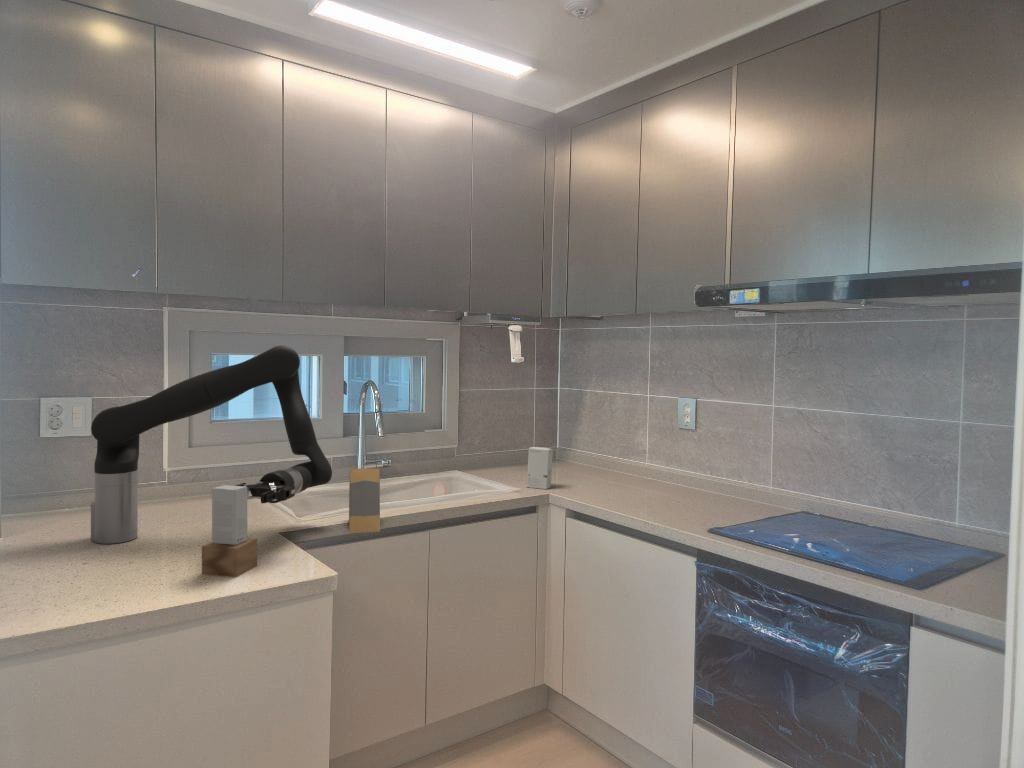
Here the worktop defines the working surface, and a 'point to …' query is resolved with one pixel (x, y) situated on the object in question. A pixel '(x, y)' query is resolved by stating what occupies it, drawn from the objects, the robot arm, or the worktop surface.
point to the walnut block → (229, 558)
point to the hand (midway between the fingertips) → (244, 498)
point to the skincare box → (229, 514)
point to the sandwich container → (364, 500)
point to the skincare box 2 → (539, 467)
